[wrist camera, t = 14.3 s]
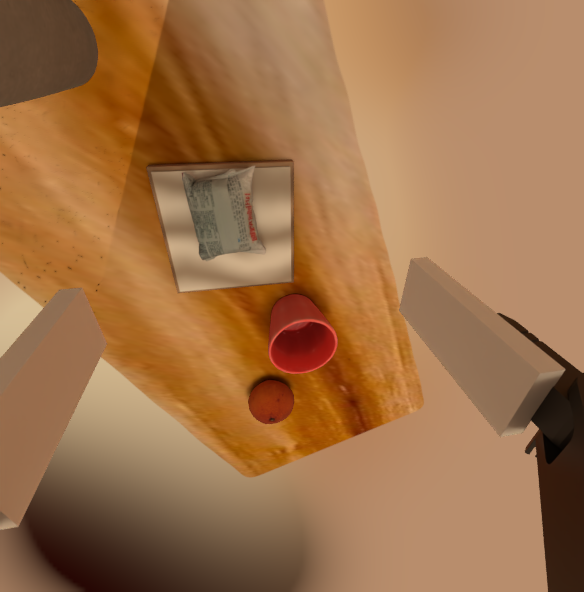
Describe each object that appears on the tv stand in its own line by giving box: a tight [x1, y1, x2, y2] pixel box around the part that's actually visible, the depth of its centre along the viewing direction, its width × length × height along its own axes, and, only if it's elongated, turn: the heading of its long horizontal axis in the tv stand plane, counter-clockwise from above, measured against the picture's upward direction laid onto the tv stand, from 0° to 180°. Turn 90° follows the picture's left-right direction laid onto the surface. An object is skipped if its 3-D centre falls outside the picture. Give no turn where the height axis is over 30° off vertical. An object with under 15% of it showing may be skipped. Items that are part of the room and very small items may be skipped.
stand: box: [146, 160, 294, 293], centre depth 44 cm, size 18×18×2 cm
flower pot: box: [268, 294, 338, 374], centre depth 50 cm, size 11×11×10 cm
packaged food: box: [182, 165, 266, 261], centre depth 39 cm, size 9×12×5 cm
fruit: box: [248, 380, 294, 424], centre depth 61 cm, size 9×9×8 cm
